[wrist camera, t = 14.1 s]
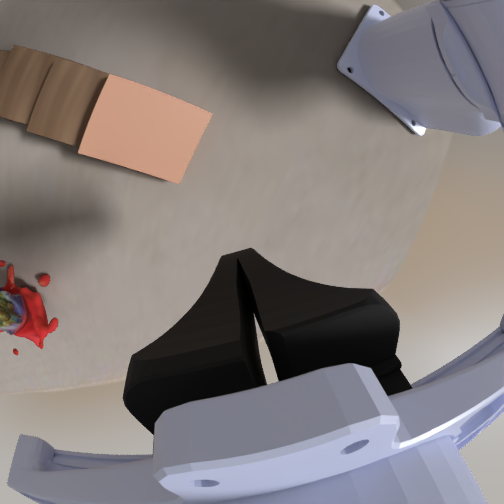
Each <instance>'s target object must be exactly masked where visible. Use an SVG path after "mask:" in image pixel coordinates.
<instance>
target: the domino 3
mask: <svg viewBox="0 0 504 504" xmlns="http://www.w3.org/2000/svg"><path fill="white" fill-rule="evenodd" d="M212 115H213V114H212V113H210V112H208V111H206V110H204V109H201V108H199V107H197V106H194V105H192V104H190V103H187V102H185V101H183V100H180V99H178V98H175V97H173V96H171V95H168V94H166V93H163V92H160V91H158V90H155V89H153V88H150V87H147V86H144V85H142V84H139V83H136V82H133V81H130V80H127V79H125V78H122V77H118V76H115V75H112V74H109V76H108V78H107V80H106V83H105V85H104V87H103V89H102V91H101V93H100V96H99V98H98V100H97V103H96V105H95V107H94V110H93V112H92V115H91V117H90V120H89V122H88V125H87V128H86V130H85V133H84V136H83V139H82V142H81V145H80V148H79V151H78V153H79V154H83V155H87V156H90V157H93V158H97V159H100V160H104V161H107V162H110V163H114V164H117V165H120V166H124V167H127V168H130V169H133V170H137V171H140V172H143V173H146V174H149V175H153V176H156V177H159V178H162V179H165V180H168V181H171V182H174V183H177V184H180V182H181V179H182V177H183V175H184V173H185V170H186V168H187V166H188V164H189V162H190V160H191V157H192V155H193V153H194V151H195V149H196V147H197V145H198V143H199V141H200V139H201V137H202V135H203V133H204V131H205V129H206V127H207V125H208V123H209V121H210V119H211V117H212Z"/></svg>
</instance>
